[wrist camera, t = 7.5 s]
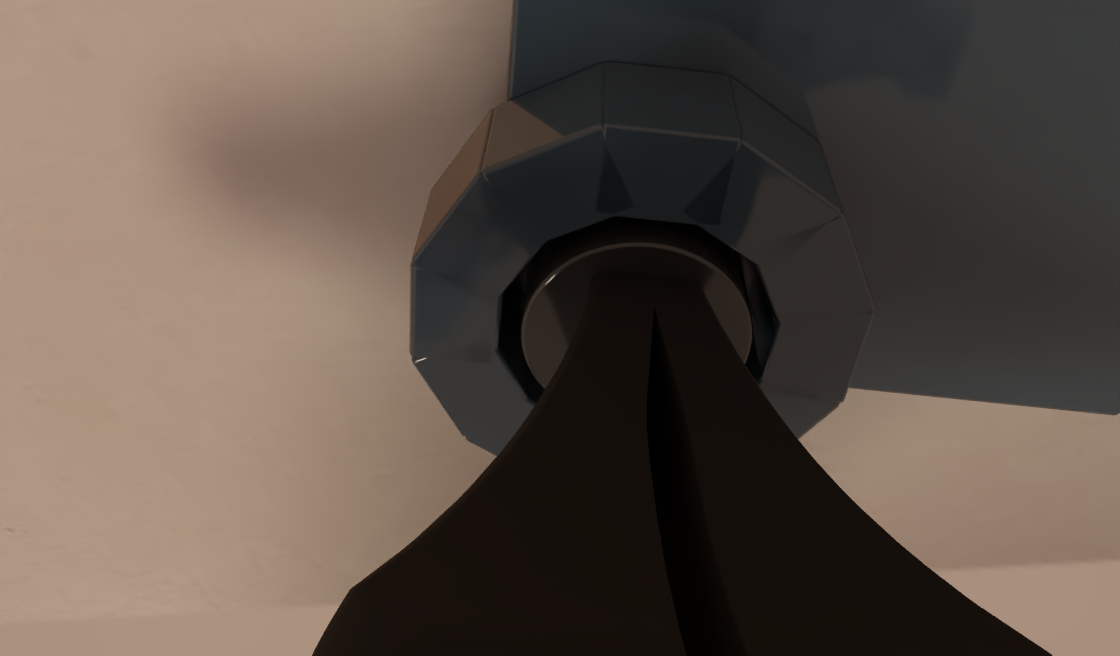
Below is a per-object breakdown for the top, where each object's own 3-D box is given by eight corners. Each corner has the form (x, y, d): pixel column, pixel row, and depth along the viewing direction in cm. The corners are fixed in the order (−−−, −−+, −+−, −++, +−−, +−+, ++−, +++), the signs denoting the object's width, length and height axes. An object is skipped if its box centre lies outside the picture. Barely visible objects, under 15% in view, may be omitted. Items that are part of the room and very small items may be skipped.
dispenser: (1059, 392, 18) (1139, 547, 15) (438, 328, 18) (407, 473, 15) (1446, -345, 11) (1712, -308, 9) (465, -466, 11) (416, -466, 8)
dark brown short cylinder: (718, 357, 16) (727, 437, 14) (520, 337, 16) (511, 415, 14) (760, 185, 14) (776, 257, 12) (538, 161, 14) (529, 231, 12)
